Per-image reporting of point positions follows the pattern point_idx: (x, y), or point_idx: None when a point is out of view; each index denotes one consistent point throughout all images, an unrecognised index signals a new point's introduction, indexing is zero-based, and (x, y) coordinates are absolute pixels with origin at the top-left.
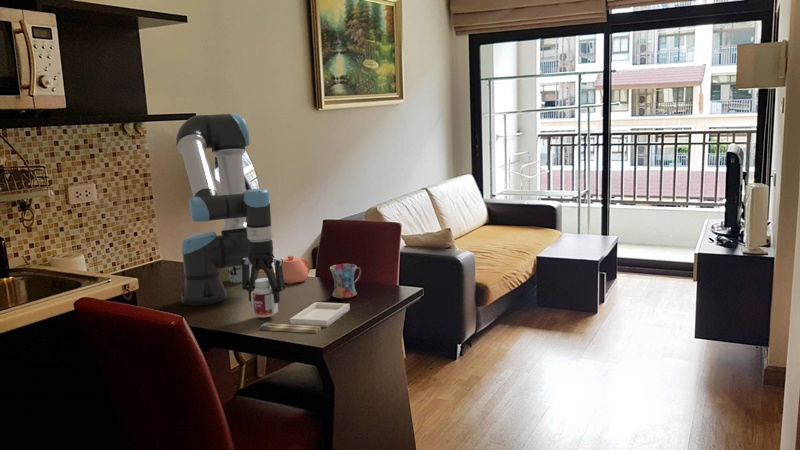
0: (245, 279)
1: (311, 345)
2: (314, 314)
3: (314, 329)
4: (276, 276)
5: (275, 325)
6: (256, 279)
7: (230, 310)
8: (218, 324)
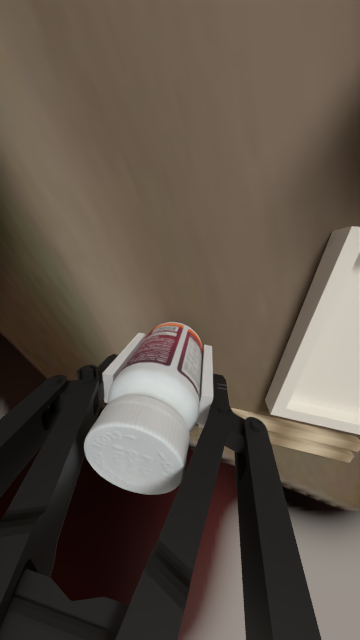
0: (32, 456)
1: (334, 503)
2: (337, 336)
3: (344, 459)
4: (247, 566)
5: None
6: (86, 450)
7: (44, 272)
8: None
